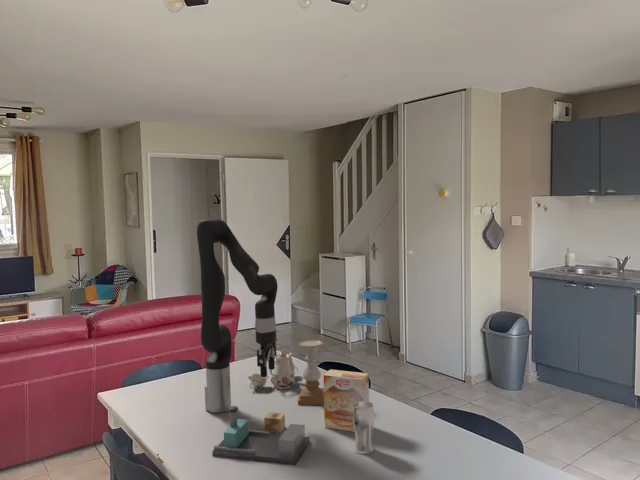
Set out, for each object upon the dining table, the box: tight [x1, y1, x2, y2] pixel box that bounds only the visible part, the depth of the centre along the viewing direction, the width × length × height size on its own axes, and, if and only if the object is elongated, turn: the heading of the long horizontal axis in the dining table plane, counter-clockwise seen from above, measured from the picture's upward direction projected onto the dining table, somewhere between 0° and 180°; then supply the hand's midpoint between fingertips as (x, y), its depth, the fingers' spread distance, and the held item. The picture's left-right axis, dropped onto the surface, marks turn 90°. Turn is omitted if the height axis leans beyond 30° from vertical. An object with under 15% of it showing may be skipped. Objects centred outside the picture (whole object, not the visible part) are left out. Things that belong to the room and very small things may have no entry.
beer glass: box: [353, 401, 375, 455], centre depth 167 cm, size 7×7×15 cm
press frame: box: [211, 423, 311, 466], centre depth 170 cm, size 28×16×6 cm, turn 75°
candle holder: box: [297, 339, 324, 406], centre depth 210 cm, size 11×11×24 cm
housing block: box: [263, 412, 286, 434], centre depth 184 cm, size 6×5×5 cm
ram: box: [223, 405, 250, 448], centre depth 172 cm, size 5×11×11 cm, turn 165°
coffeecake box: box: [323, 368, 370, 433], centre depth 184 cm, size 15×7×20 cm, turn 68°
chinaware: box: [247, 350, 299, 391], centre depth 230 cm, size 28×17×17 cm, turn 144°
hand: (267, 372), depth 188 cm, fingers open, 8 cm apart
